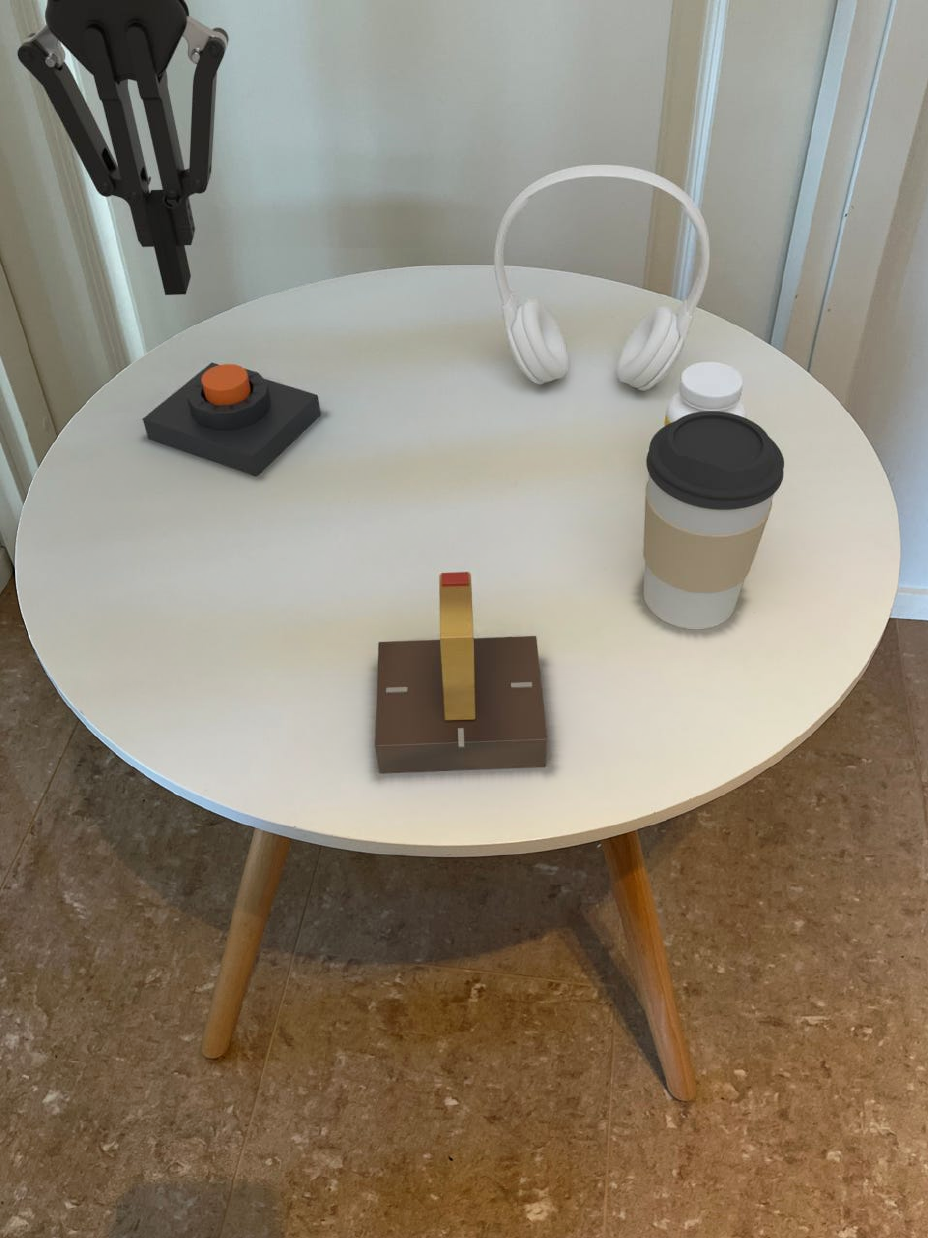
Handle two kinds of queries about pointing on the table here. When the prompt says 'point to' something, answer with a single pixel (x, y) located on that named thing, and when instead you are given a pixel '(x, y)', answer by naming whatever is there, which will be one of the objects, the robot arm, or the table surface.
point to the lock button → (226, 384)
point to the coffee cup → (705, 514)
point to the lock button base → (234, 422)
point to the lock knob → (457, 645)
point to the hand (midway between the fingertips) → (178, 284)
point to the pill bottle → (707, 391)
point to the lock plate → (490, 741)
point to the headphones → (652, 338)
